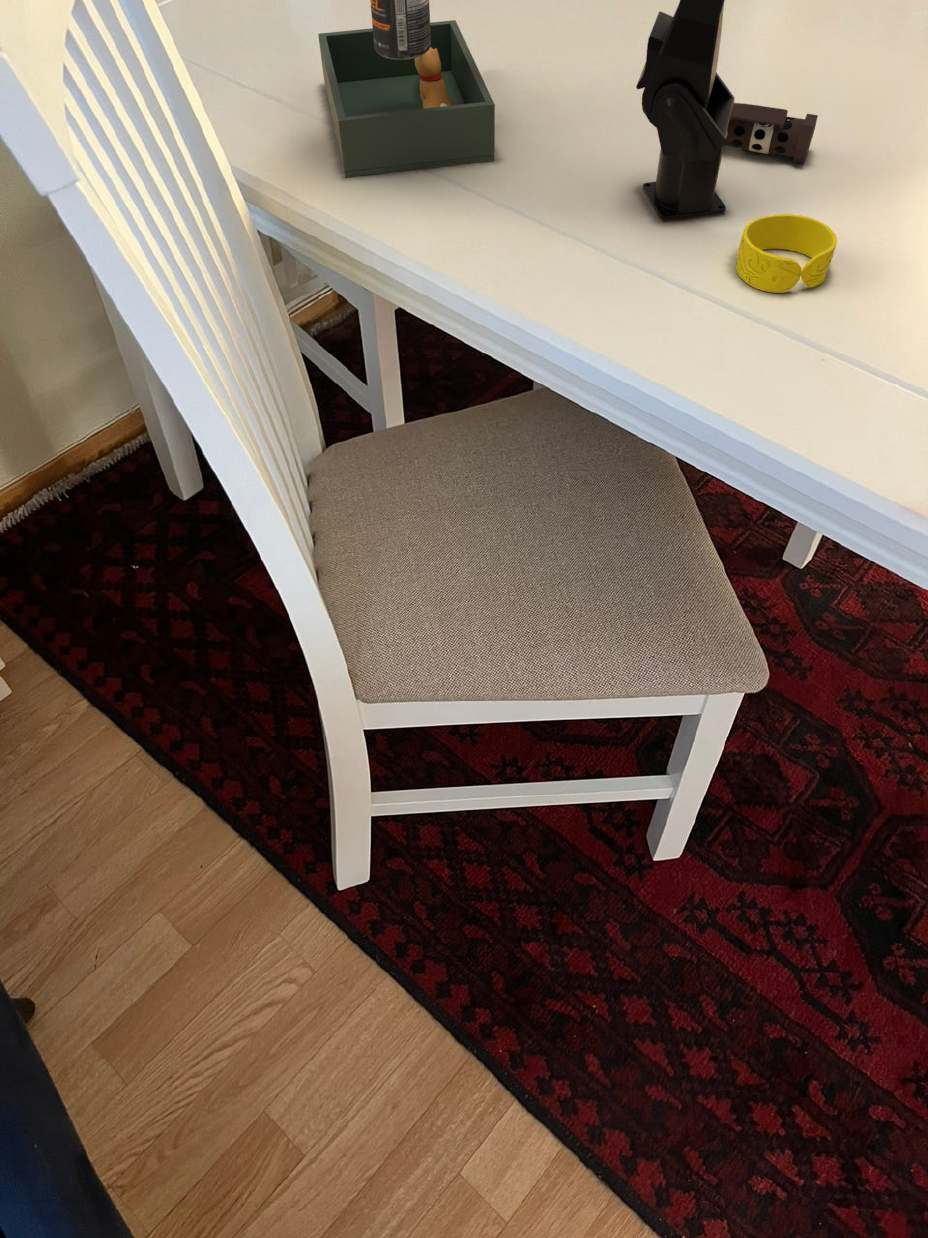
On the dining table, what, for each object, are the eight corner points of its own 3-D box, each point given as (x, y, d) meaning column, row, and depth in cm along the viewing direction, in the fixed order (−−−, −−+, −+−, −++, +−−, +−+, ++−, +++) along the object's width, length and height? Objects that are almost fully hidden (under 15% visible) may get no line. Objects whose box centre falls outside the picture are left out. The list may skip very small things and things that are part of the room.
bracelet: (721, 255, 85) (728, 221, 83) (800, 241, 87) (809, 206, 84) (758, 299, 81) (767, 264, 78) (841, 283, 82) (852, 248, 80)
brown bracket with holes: (801, 173, 96) (808, 143, 91) (692, 155, 99) (693, 124, 94) (813, 134, 97) (820, 102, 91) (704, 117, 99) (705, 85, 94)
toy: (438, 76, 108) (434, 28, 104) (467, 146, 98) (465, 96, 94) (409, 80, 108) (405, 33, 104) (436, 151, 97) (432, 100, 93)
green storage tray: (494, 160, 97) (494, 104, 93) (345, 177, 96) (338, 120, 91) (456, 72, 110) (455, 19, 106) (324, 86, 109) (318, 33, 104)
